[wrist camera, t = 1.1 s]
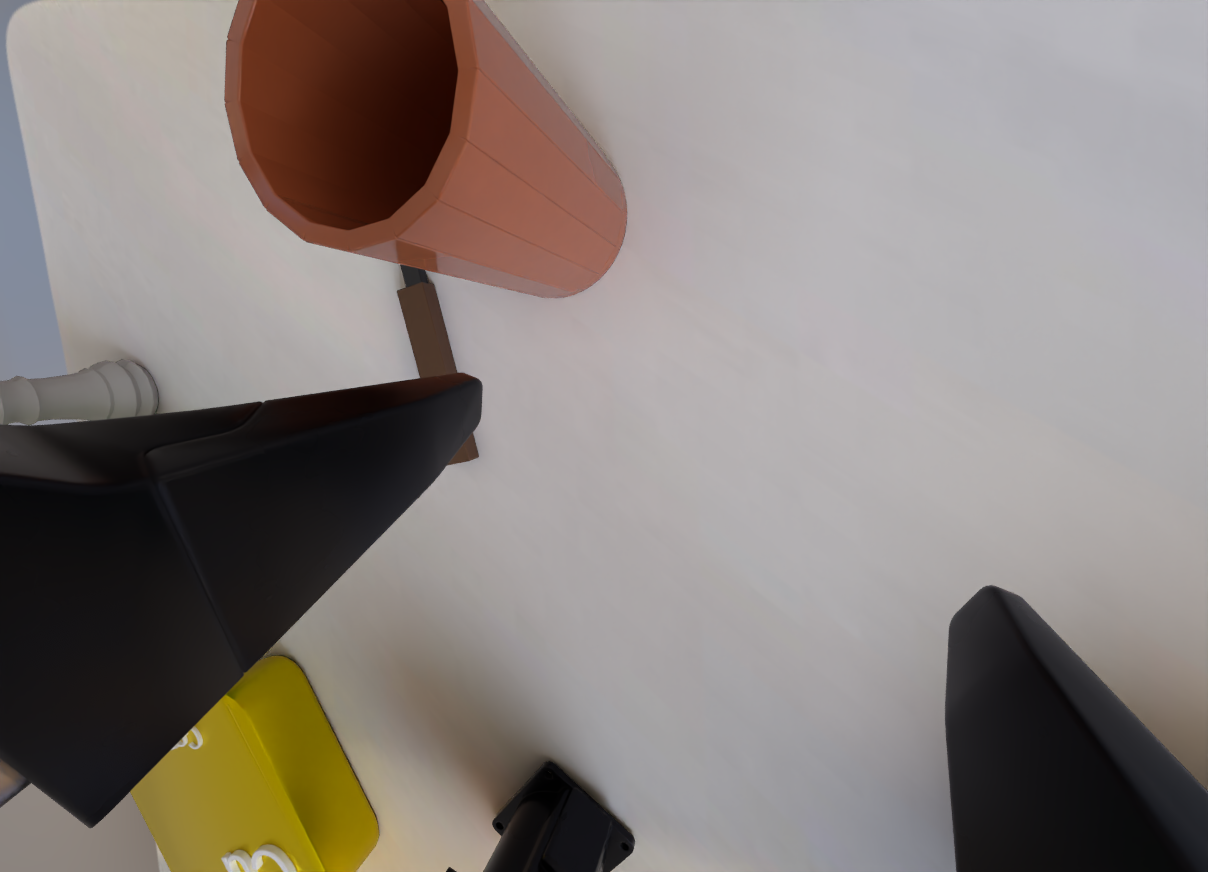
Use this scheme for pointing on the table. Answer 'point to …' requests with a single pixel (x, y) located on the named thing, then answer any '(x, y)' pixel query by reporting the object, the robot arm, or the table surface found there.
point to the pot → (419, 142)
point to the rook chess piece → (80, 395)
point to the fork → (429, 337)
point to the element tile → (259, 785)
